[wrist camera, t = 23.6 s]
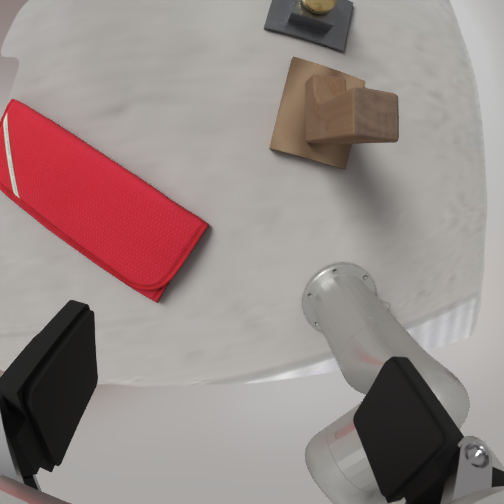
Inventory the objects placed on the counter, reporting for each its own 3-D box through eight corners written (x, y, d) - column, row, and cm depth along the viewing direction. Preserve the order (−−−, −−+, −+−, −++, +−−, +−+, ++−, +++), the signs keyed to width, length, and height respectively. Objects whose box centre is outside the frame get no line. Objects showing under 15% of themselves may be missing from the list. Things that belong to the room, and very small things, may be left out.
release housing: (351, 4, 34) (360, -6, 30) (341, 52, 37) (351, 43, 33) (278, -19, 32) (281, -32, 28) (263, 28, 35) (266, 17, 31)
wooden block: (304, 81, 37) (350, 38, 20) (335, 84, 37) (396, 48, 20) (304, 142, 40) (353, 137, 23) (335, 144, 40) (400, 142, 23)
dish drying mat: (158, 300, 48) (153, 311, 44) (-10, 175, 39) (-23, 178, 35) (210, 222, 44) (208, 228, 41) (22, 97, 35) (9, 95, 32)
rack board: (361, 83, 38) (365, 81, 37) (341, 168, 42) (345, 169, 41) (291, 59, 37) (293, 56, 36) (269, 148, 41) (270, 148, 40)
